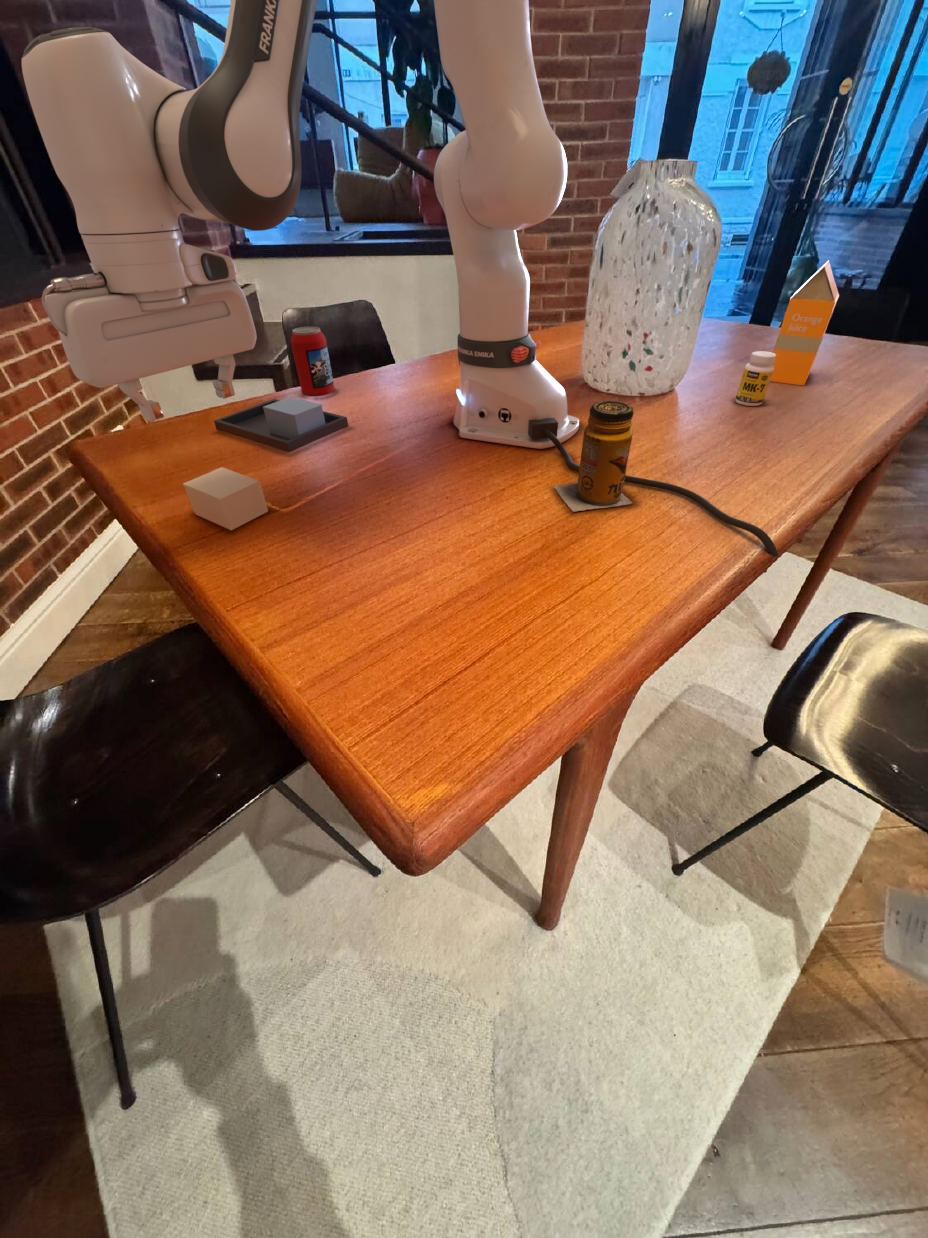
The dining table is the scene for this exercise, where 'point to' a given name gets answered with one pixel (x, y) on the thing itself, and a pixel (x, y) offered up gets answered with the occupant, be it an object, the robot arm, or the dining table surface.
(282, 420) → the blue gray block
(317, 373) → the beverage can
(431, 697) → the dining table surface
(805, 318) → the orange juice
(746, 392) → the supplement bottle
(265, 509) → the beige block
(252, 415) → the tray
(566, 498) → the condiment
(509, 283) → the robot arm
